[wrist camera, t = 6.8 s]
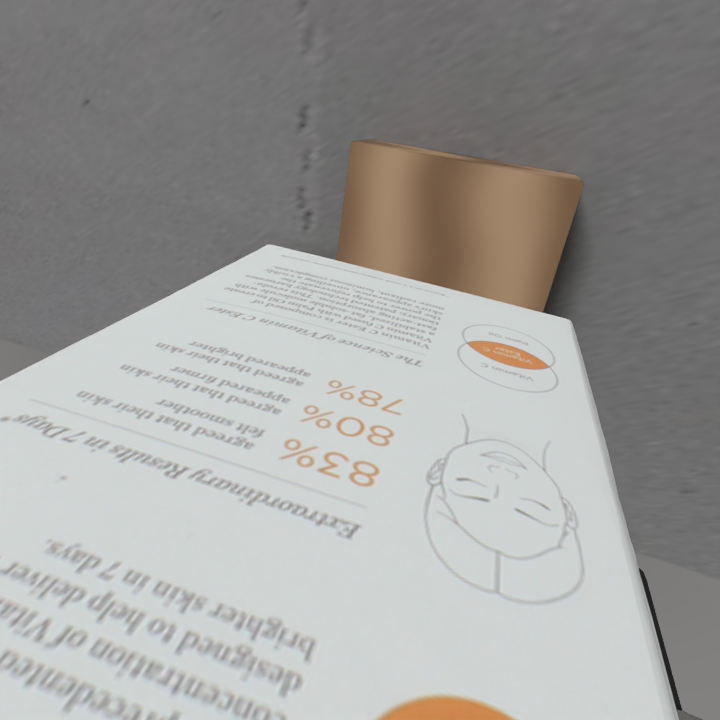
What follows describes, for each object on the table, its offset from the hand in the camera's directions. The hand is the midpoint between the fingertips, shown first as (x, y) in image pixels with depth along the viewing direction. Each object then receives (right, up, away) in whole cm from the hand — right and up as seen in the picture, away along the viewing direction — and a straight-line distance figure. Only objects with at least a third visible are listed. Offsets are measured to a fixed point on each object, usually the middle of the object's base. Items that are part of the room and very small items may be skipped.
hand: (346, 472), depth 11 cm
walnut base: (+6, +9, +22) cm, 24 cm away
